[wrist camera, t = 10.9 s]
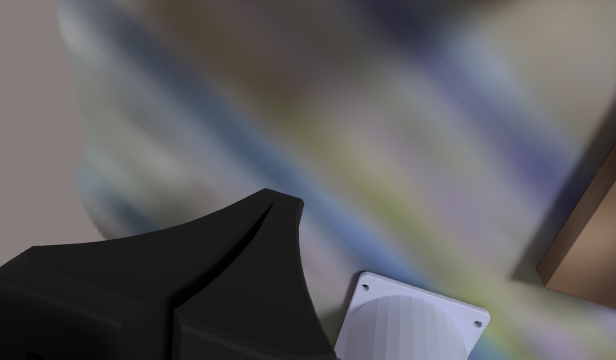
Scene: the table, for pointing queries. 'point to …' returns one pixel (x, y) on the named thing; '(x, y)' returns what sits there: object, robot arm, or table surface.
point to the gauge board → (587, 243)
